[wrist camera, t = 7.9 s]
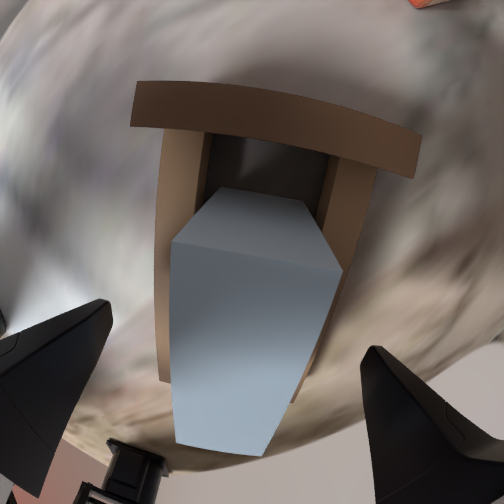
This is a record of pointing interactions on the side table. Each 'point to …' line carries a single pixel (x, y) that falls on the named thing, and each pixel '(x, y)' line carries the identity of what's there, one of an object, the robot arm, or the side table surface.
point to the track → (273, 130)
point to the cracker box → (424, 2)
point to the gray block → (244, 316)
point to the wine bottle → (2, 325)
